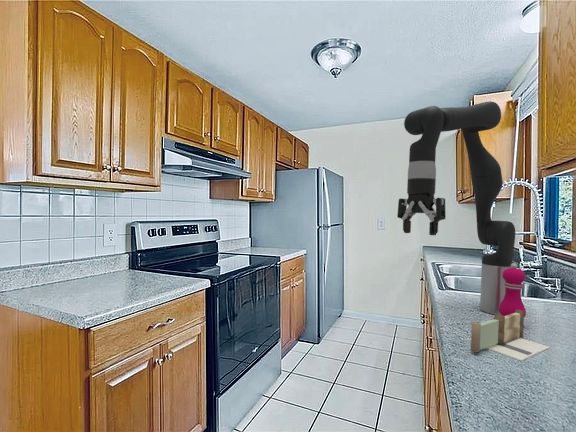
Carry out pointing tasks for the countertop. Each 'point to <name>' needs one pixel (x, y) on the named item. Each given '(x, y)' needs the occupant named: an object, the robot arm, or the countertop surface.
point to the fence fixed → (510, 326)
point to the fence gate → (484, 334)
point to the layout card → (518, 348)
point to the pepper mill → (512, 291)
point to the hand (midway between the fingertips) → (419, 234)
